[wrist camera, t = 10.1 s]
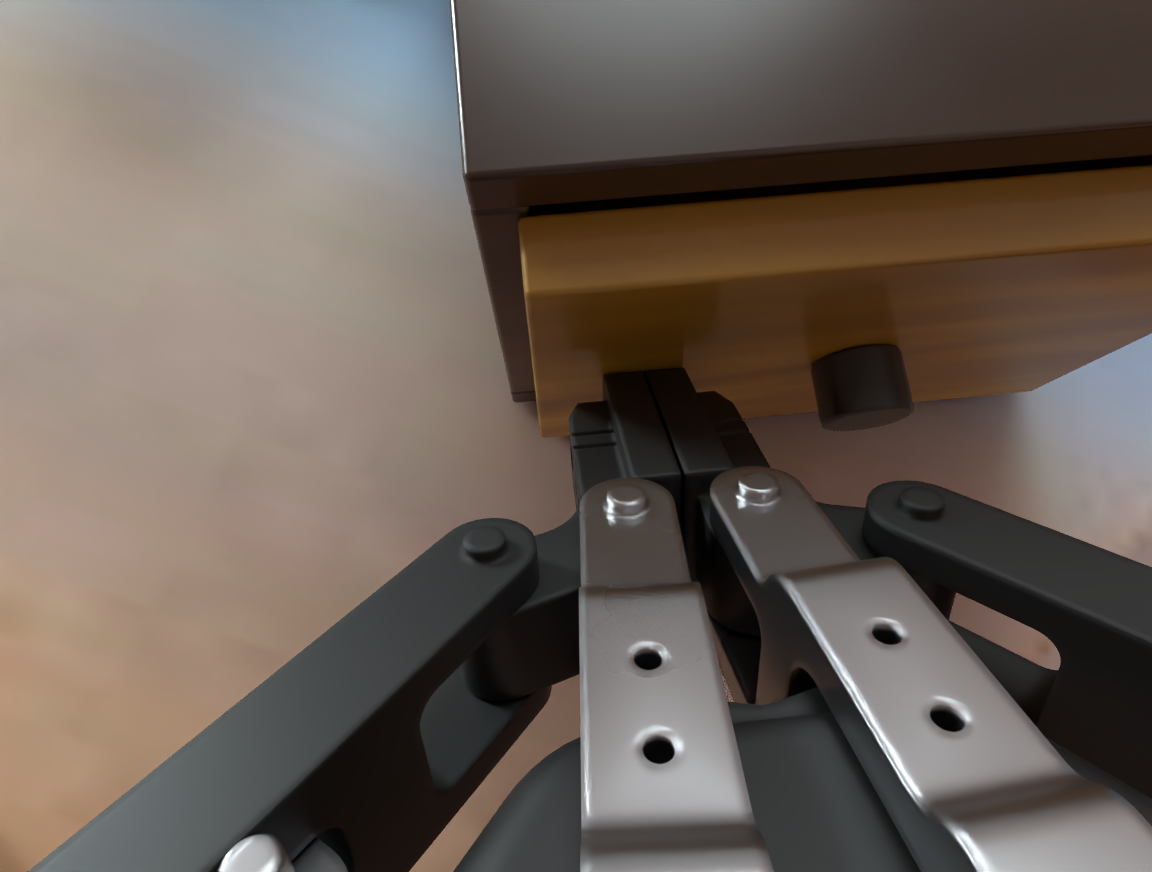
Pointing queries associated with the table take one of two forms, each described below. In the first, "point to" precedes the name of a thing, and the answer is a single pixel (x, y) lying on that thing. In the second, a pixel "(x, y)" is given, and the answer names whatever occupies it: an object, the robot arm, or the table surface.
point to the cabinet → (773, 102)
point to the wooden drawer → (843, 288)
